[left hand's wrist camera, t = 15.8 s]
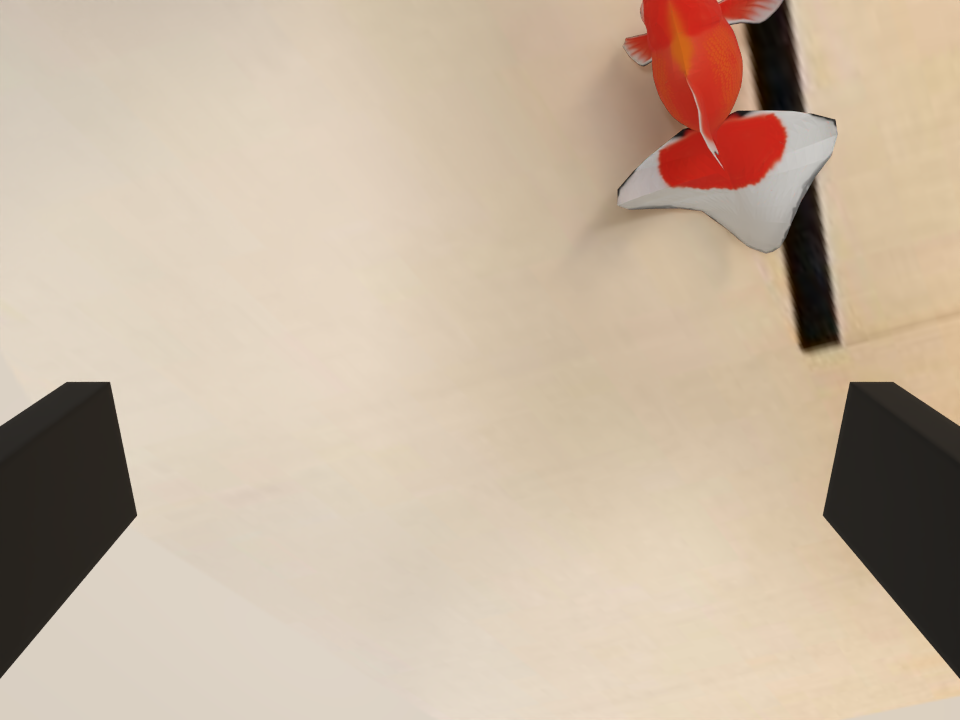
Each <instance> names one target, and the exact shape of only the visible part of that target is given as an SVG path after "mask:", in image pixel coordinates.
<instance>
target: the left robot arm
mask: <svg viewBox="0 0 960 720" xmlns="http://www.w3.org/2000/svg"><path fill="white" fill-rule="evenodd" d="M136 516H137V512H136V507H135V503H134V498H133V493H132V488H131V483H130V478H129V473H128V468H127V463H126V458H125V453H124V448H123V444H122V439H121V434H120V429H119V424H118V419H117V414H116V409H115V404H114V399H113V394H112V389H111V385H110V382H66V383H65V384H63V385H62V386H60V387H59V388H57V389H56V390H54V391H53V392H51V393H50V394H48V395H47V396H45V397H44V398H42V399H41V400H39V401H38V402H36V403H35V404H33V405H32V406H30V407H29V408H27V409H26V410H24V411H23V412H21V413H20V414H18V415H17V416H15V417H14V418H12V419H11V420H9V421H8V422H6V423H5V424H3V425H2V426H0V678H1V677H2V676H3V675H4V673H5V672H6V671H7V670H8V669H9V668H10V666H11V665H12V664H13V663H14V662H15V660H16V659H17V658H18V657H19V656H20V654H21V653H22V652H23V651H24V650H25V648H26V647H27V646H28V645H29V644H30V642H31V641H32V640H33V639H34V638H35V637H36V635H37V634H38V633H39V632H40V631H41V629H42V628H43V627H44V626H45V625H46V623H47V622H48V621H49V620H50V619H51V617H52V616H53V615H54V614H55V613H56V612H57V610H58V609H59V608H60V607H61V606H62V604H63V603H64V602H65V601H66V600H67V598H68V597H69V596H70V595H71V594H72V592H73V591H74V590H75V589H76V588H77V586H78V585H79V584H80V583H81V582H82V581H83V579H84V578H85V577H86V576H87V575H88V573H89V572H90V571H91V570H92V569H93V567H94V566H95V565H96V564H97V563H98V562H99V560H100V559H101V558H102V557H103V556H104V554H105V553H106V552H107V551H108V550H109V548H110V547H111V546H112V545H113V544H114V542H115V541H116V540H117V539H118V538H119V536H120V535H121V534H122V533H123V532H124V531H125V529H126V528H127V527H128V526H129V525H130V523H131V522H132V521H133V520H134V519H135V517H136ZM823 516H824V517H825V519H826V520H827V521H828V522H829V523H830V525H831V526H832V527H833V528H834V529H835V531H836V532H837V533H838V534H839V535H840V536H841V538H842V539H843V540H844V541H845V542H846V544H847V545H848V546H849V547H850V548H851V550H852V551H853V552H854V553H855V554H856V556H857V557H858V558H859V559H860V560H861V562H862V563H863V564H864V565H865V566H866V567H867V569H868V570H869V571H870V572H871V573H872V575H873V576H874V577H875V578H876V579H877V581H878V582H879V583H880V584H881V585H882V587H883V588H884V589H885V590H886V591H887V592H888V594H889V595H890V596H891V597H892V598H893V600H894V601H895V602H896V603H897V604H898V606H899V607H900V608H901V609H902V610H903V612H904V613H905V614H906V615H907V616H908V618H909V619H910V620H911V621H912V622H913V623H914V625H915V626H916V627H917V628H918V629H919V631H920V632H921V633H922V634H923V635H924V637H925V638H926V639H927V640H928V641H929V643H930V644H931V645H932V646H933V647H934V648H935V650H936V651H937V652H938V653H939V654H940V656H941V657H942V658H943V659H944V660H945V662H946V663H947V664H948V665H949V666H950V668H951V669H952V670H953V671H954V672H955V674H956V675H957V676H958V677H959V678H960V426H958V425H957V424H955V423H954V422H952V421H951V420H949V419H948V418H946V417H945V416H943V415H942V414H940V413H939V412H937V411H936V410H934V409H933V408H931V407H930V406H928V405H927V404H925V403H924V402H922V401H921V400H919V399H918V398H916V397H915V396H913V395H912V394H910V393H909V392H907V391H906V390H904V389H903V388H901V387H900V386H898V385H897V384H895V383H894V382H850V384H849V389H848V394H847V399H846V404H845V409H844V414H843V419H842V424H841V429H840V434H839V439H838V444H837V448H836V453H835V458H834V463H833V468H832V473H831V478H830V483H829V488H828V493H827V498H826V503H825V507H824V512H823Z"/></svg>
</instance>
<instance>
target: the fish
mask: <svg viewBox="0 0 960 720" xmlns="http://www.w3.org/2000/svg"><path fill="white" fill-rule="evenodd" d="M783 1H784V0H722V1H720V2H717V1H716V0H643V1H642V4H641V8H640V14H641V18H642V20H643V22H644V24H645V25H646V28H647V33H646V34H642V35H637V36H634V37H630V38H626V40H625V44H624V45H623V47H624V49H625V51H626V52H627V54H628V55H629V57H631V58H632V59H633V60H634V61H635V62H636V63H637V64H639V65H641V66H645V65H647V64H649V63H650V62H652V69H653V77H654V82H655V85H656V88H657V91H658V94H659V96H660V99H661V100H662V102H663V104H664V105H665V107H666V108H667V110H668V111H669V113H670V114H671V115H672V116H673V117H674V118H675V119H676V120H677V121H679V122H680V123H682V124H683V125H685V126H687V127H689V128H687V129H683V130H682V131H680V132H679V133H678V134H677V135H675V136H674V137H673V138H671V139H670V140H669V141H668V142H666V143H665V144H664V145H663V146H661V147H660V148H659V149H658V150H656V151H655V152H654V153H653V154H651V155H650V156H649V157H648V158H647V159H646V160H645V161H644V162H642V163H641V164H640V165H639V166H638V167H637V168H636V169H635V170H634V171H633V173H632V174H631V175H630V176H629V177H628V178H627V179H626V181H625V182H624V183H623V184H622V185H621V186H620V188H619V189H618V206H620V207H623V208H626V209H629V210H632V209H665V208H681V209H689V210H698V211H703V212H704V213H705V214H707V215H708V216H709V217H711V218H712V219H714V220H715V221H716V222H718V223H719V224H721V225H722V226H723V227H725V228H726V229H728V230H729V231H730V232H731V233H732V234H733V235H734V236H736V237H737V238H738V239H739V240H740V241H742V242H743V243H744V244H745V245H747V246H748V247H750V248H752V249H755V250H758V251H760V252H763V253H770V252H773V251H775V250H776V249H778V248H779V247H780V246H781V244H782V243H783V241H784V239H785V238H786V236H787V233H788V230H789V228H790V225H791V223H792V220H793V218H794V216H795V214H796V211H797V209H798V207H799V205H800V202H801V200H802V199H803V197H804V195H805V193H806V192H807V190H808V188H809V186H810V185H811V183H812V181H813V179H814V178H815V176H816V175H817V174H818V172H819V171H820V170H821V169H822V167H823V166H824V165H825V163H826V162H827V161H828V159H829V158H830V157H831V155H832V152H833V148H834V145H835V142H836V138H837V135H838V133H837V127H836V121H835V119H831V118H827V117H823V116H819V115H815V114H810V113H802V112H794V111H736V112H734V113H732V114H730V112H731V110H732V108H733V106H734V104H735V101H736V99H737V96H738V94H739V91H740V88H741V83H742V72H743V64H742V57H741V53H740V49H739V46H738V43H737V40H736V37H735V34H734V32H733V30H732V28H731V26H730V25H732V24H738V23H749V24H760V23H762V22H764V21H766V20H767V19H768V18H769V17H770V16H771V15H772V14H773V13H774V12H775V11H776V10H777V9H778V8H779V6H780V5H781V3H782V2H783ZM729 114H730V115H729Z"/></svg>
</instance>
